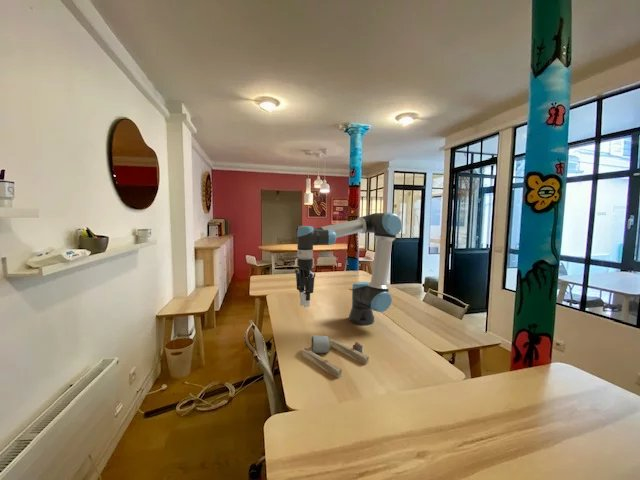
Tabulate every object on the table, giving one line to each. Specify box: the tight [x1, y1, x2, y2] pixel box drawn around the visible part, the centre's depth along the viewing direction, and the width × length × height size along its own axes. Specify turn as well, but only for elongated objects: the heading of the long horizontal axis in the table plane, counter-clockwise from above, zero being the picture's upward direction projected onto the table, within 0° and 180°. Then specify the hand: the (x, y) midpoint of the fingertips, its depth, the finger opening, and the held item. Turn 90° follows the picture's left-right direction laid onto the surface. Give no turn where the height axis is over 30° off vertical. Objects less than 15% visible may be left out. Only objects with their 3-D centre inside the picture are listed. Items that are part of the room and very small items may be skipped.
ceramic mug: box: [310, 335, 331, 354], centre depth 132 cm, size 11×8×8 cm
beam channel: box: [301, 338, 370, 379], centre depth 125 cm, size 22×23×5 cm
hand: (304, 305), depth 138 cm, fingers open, 3 cm apart
